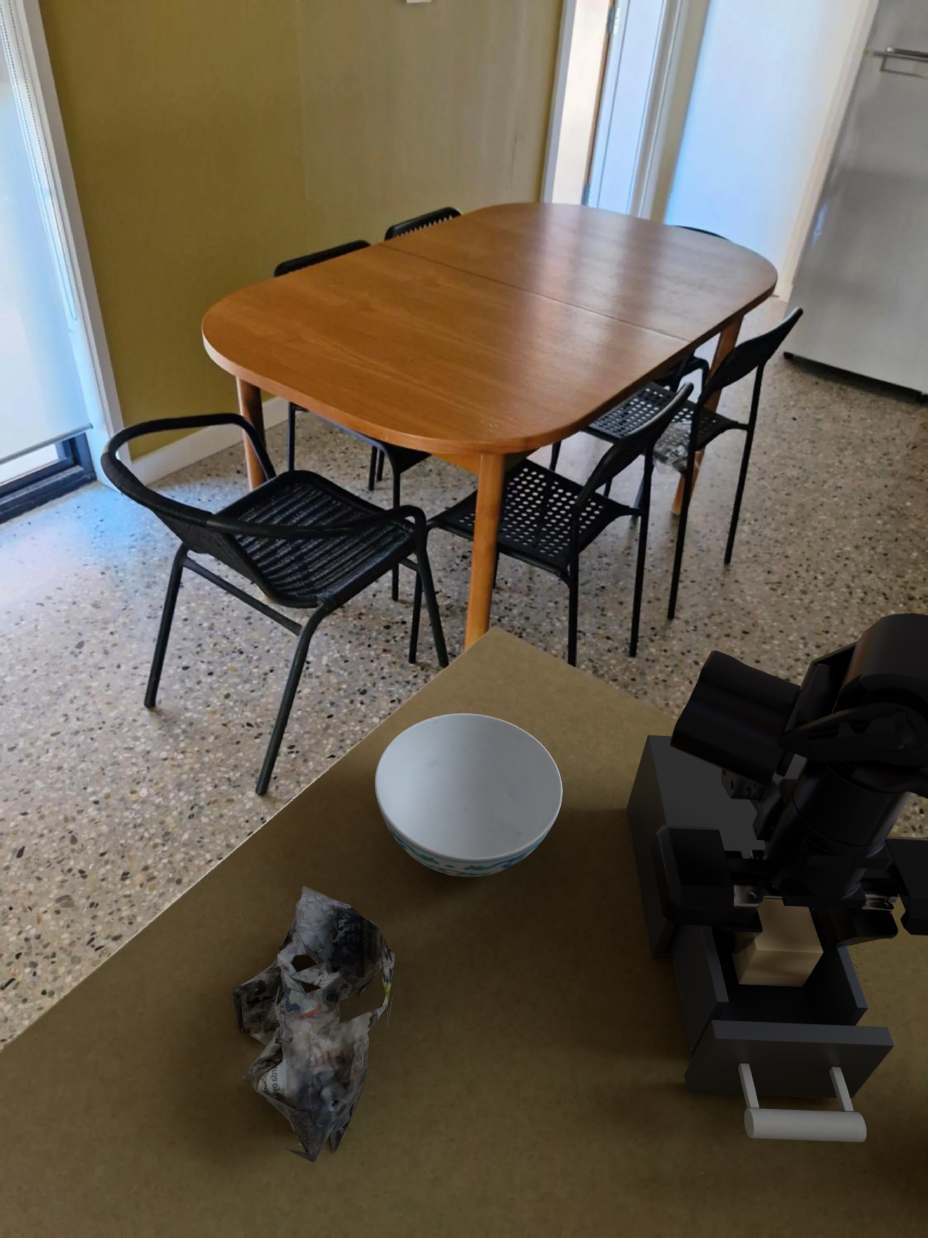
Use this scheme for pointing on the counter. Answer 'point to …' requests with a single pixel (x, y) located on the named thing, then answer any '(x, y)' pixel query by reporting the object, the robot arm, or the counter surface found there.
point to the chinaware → (467, 793)
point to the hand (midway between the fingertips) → (766, 948)
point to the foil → (314, 1020)
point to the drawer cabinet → (679, 820)
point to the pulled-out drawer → (777, 1037)
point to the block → (780, 947)
